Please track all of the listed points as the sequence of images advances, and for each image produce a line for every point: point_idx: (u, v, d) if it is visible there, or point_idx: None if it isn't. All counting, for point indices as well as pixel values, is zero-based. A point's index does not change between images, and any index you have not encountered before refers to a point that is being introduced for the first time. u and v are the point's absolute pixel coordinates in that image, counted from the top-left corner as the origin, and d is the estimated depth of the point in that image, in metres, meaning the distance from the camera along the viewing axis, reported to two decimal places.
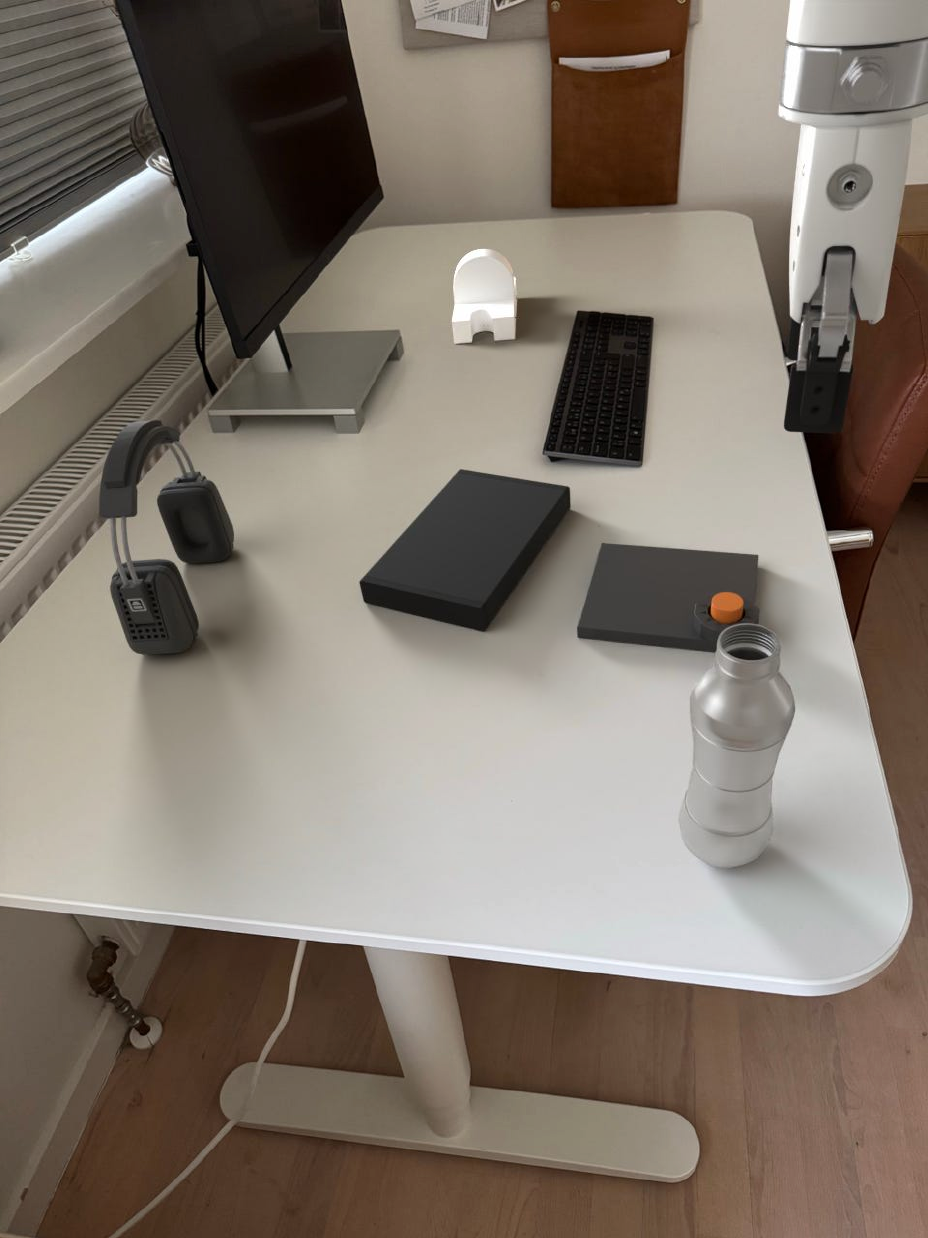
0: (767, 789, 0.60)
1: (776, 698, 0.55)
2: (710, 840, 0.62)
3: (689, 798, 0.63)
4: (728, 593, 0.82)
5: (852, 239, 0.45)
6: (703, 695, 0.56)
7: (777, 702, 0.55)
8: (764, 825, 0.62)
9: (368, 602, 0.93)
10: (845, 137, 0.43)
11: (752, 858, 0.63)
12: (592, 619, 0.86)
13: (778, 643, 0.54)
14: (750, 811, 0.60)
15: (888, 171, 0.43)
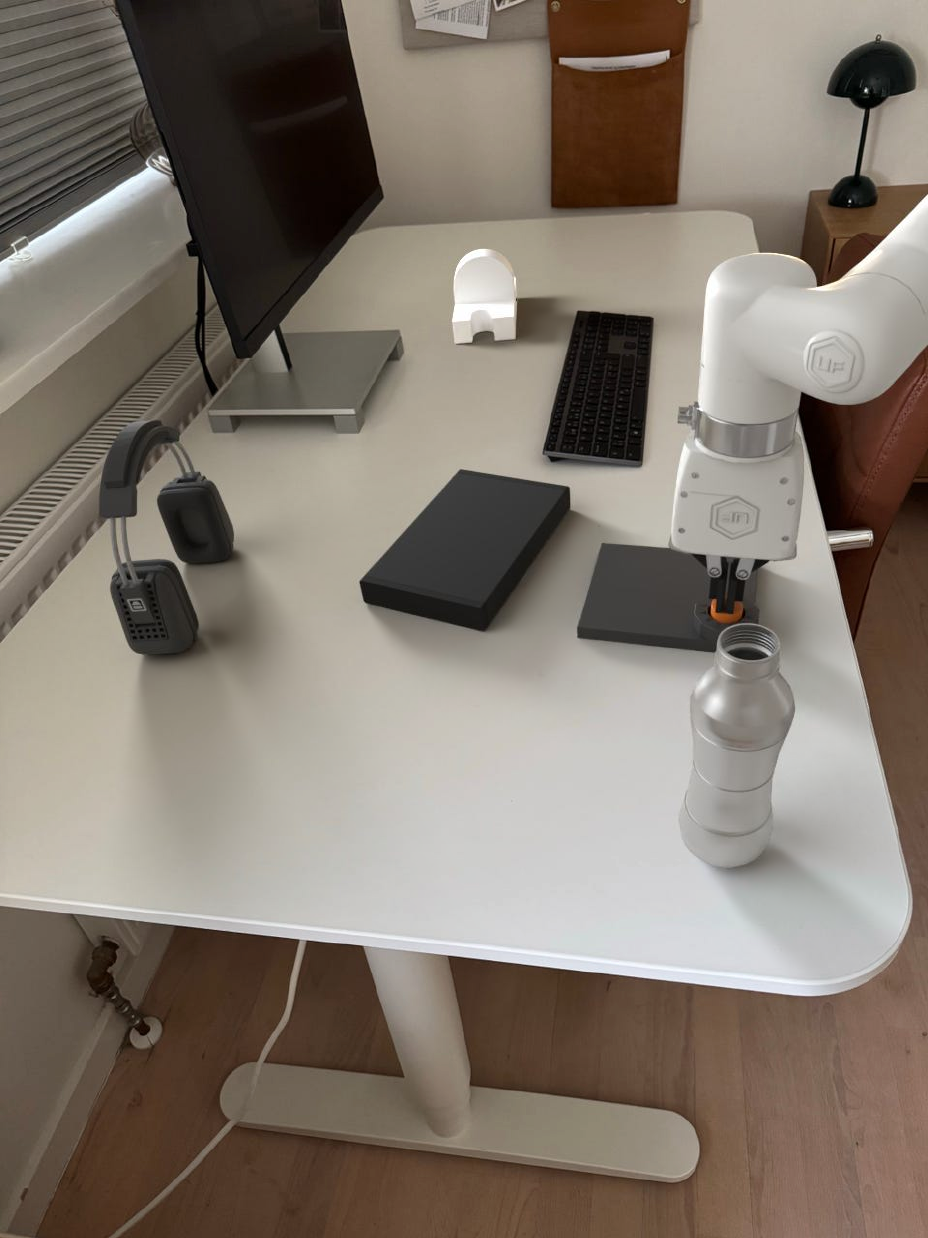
0: (767, 789, 0.60)
1: (776, 698, 0.55)
2: (710, 840, 0.62)
3: (689, 798, 0.63)
4: None
5: None
6: (703, 695, 0.56)
7: (777, 702, 0.55)
8: (764, 825, 0.62)
9: (368, 602, 0.93)
10: None
11: (752, 858, 0.63)
12: (592, 619, 0.86)
13: (778, 643, 0.54)
14: (750, 811, 0.60)
15: (680, 466, 0.72)
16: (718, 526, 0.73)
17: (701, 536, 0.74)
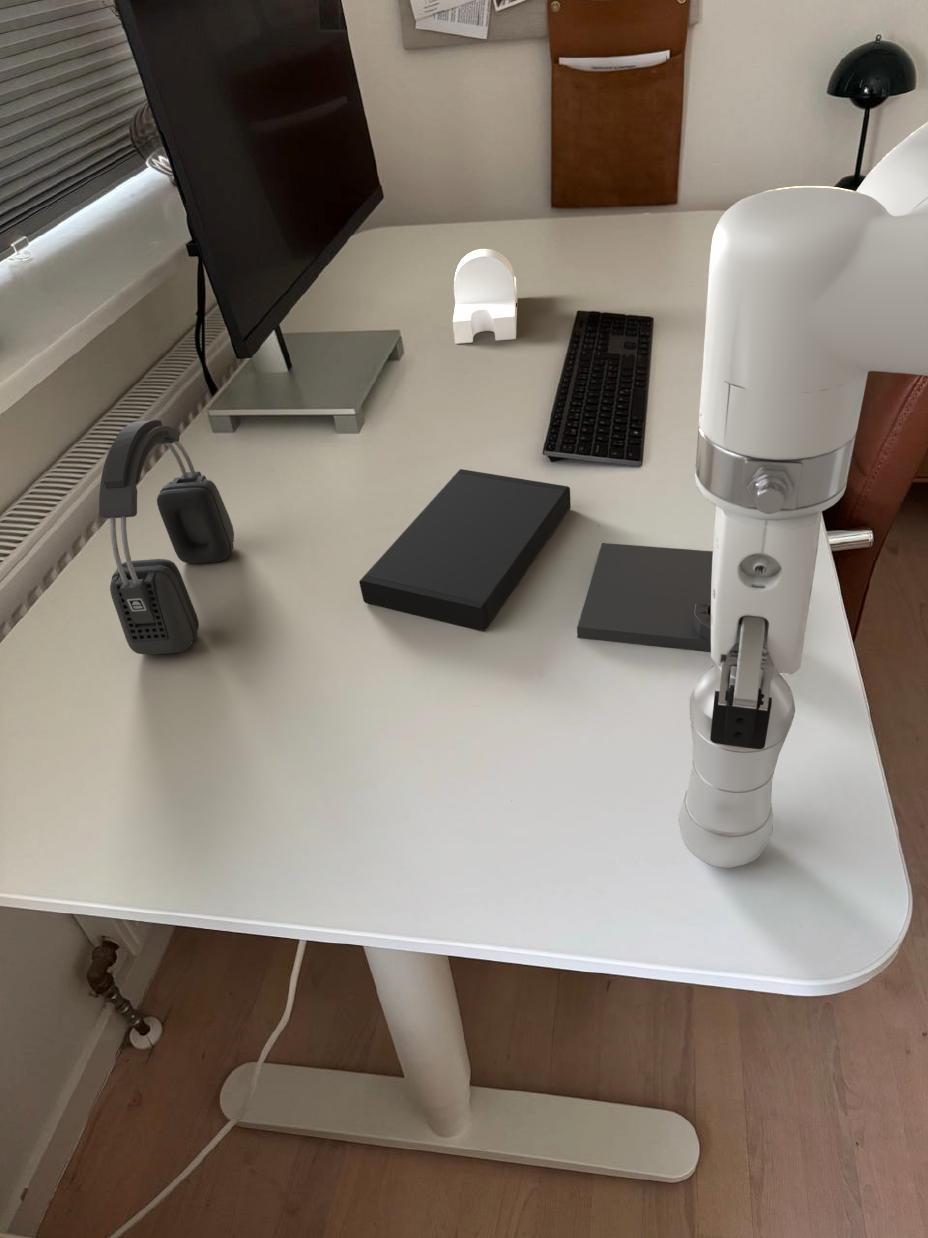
0: (767, 789, 0.60)
1: (776, 699, 0.55)
2: (710, 840, 0.62)
3: (689, 798, 0.63)
4: None
5: (764, 612, 0.46)
6: (703, 696, 0.56)
7: (777, 703, 0.55)
8: (764, 825, 0.62)
9: (368, 602, 0.93)
10: (753, 531, 0.44)
11: (752, 858, 0.63)
12: (592, 619, 0.86)
13: None
14: (750, 811, 0.60)
15: (796, 562, 0.44)
16: None
17: None
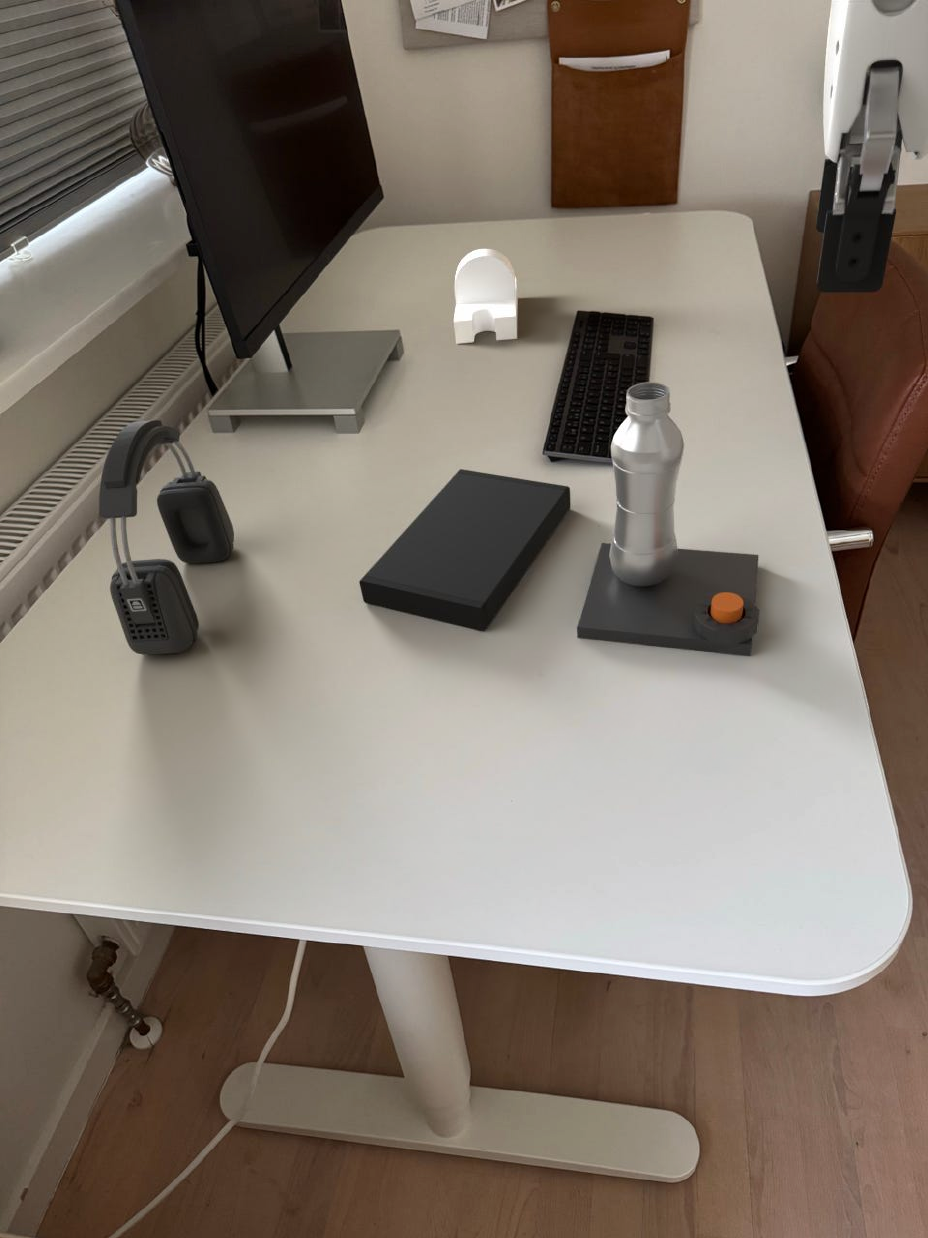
0: (668, 515, 0.83)
1: (668, 433, 0.78)
2: (629, 559, 0.86)
3: (615, 531, 0.86)
4: (728, 593, 0.82)
5: (899, 51, 0.40)
6: (618, 435, 0.80)
7: (669, 435, 0.78)
8: (668, 547, 0.85)
9: (368, 602, 0.93)
10: None
11: (661, 576, 0.87)
12: (592, 619, 0.86)
13: (668, 391, 0.77)
14: (656, 532, 0.84)
15: None
16: None
17: None
